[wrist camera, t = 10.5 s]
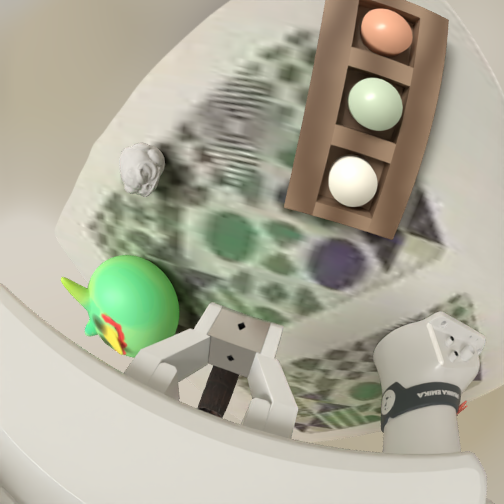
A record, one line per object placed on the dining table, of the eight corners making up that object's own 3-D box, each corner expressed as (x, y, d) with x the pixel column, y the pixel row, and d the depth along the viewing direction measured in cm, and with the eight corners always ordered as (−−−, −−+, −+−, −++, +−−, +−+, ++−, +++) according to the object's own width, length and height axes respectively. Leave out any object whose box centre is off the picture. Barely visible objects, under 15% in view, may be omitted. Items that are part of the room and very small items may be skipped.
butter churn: (273, 361, 48) (226, 502, 25) (235, 369, 53) (183, 490, 29) (244, 329, 45) (177, 482, 22) (206, 340, 50) (139, 468, 27)
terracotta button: (408, 25, 16) (414, 19, 14) (402, 63, 18) (409, 60, 16) (362, 10, 16) (365, 2, 14) (356, 48, 19) (359, 42, 17)
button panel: (434, 29, 16) (448, 19, 12) (385, 222, 30) (392, 239, 26) (329, -6, 18) (328, -22, 14) (290, 193, 31) (283, 207, 28)
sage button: (400, 90, 19) (407, 89, 17) (389, 135, 22) (395, 138, 20) (352, 74, 20) (354, 70, 18) (342, 119, 22) (344, 121, 20)
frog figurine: (160, 193, 36) (130, 212, 30) (131, 157, 34) (98, 171, 29) (187, 166, 33) (157, 182, 27) (155, 127, 31) (120, 137, 26)
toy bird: (189, 332, 50) (154, 392, 38) (119, 299, 52) (77, 347, 40) (197, 258, 40) (144, 326, 28) (111, 225, 42) (49, 272, 30)
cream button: (379, 162, 25) (383, 167, 22) (366, 204, 27) (368, 212, 25) (335, 148, 25) (335, 152, 23) (323, 191, 28) (323, 198, 26)
